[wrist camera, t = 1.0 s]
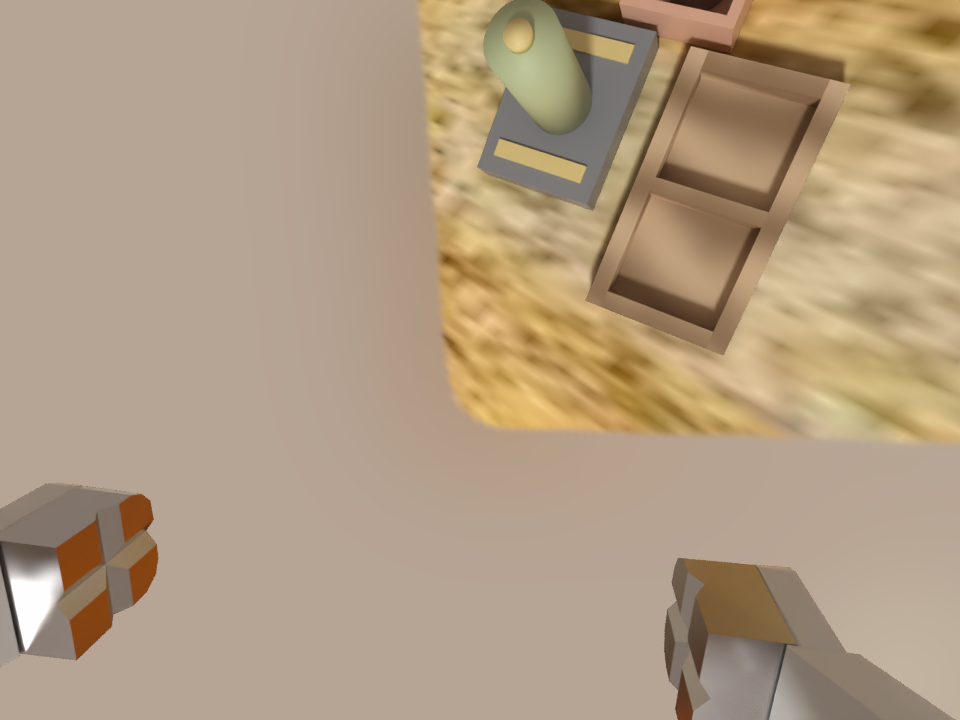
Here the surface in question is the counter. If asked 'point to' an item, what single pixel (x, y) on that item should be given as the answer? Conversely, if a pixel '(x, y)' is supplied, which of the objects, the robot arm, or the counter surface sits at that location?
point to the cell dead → (697, 3)
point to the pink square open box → (689, 21)
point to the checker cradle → (593, 145)
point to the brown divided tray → (714, 195)
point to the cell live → (538, 65)
